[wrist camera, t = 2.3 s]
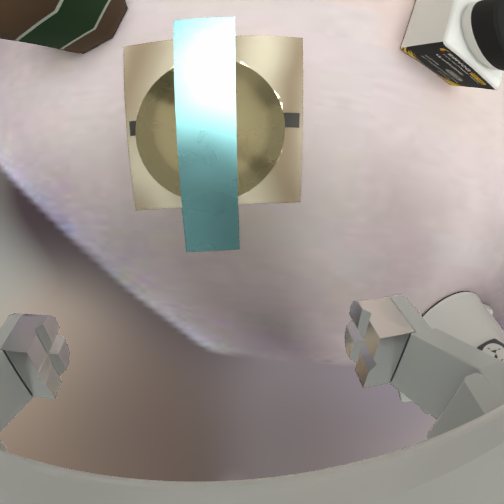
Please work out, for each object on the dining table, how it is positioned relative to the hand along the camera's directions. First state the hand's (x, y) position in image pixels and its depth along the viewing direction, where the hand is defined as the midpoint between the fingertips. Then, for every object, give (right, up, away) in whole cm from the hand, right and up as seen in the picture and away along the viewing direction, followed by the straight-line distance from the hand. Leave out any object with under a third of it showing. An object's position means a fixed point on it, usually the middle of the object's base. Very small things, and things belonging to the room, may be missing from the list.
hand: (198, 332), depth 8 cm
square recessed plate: (-2, +13, +16) cm, 21 cm away
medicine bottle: (+19, +23, +14) cm, 33 cm away
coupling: (-1, +12, +14) cm, 18 cm away
